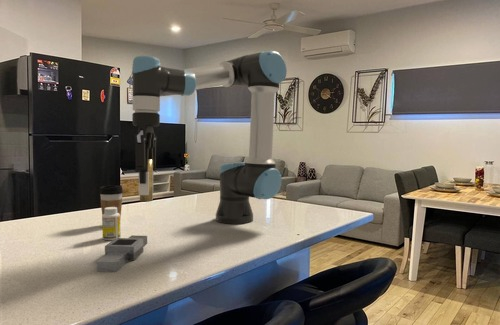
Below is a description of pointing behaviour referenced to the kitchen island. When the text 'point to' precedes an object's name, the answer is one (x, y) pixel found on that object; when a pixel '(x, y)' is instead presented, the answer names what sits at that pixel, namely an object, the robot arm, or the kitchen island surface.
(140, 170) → the robot arm
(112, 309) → the kitchen island surface
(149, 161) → the pin
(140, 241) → the grey plate with loop
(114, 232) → the supplement bottle
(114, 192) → the coffee cup
